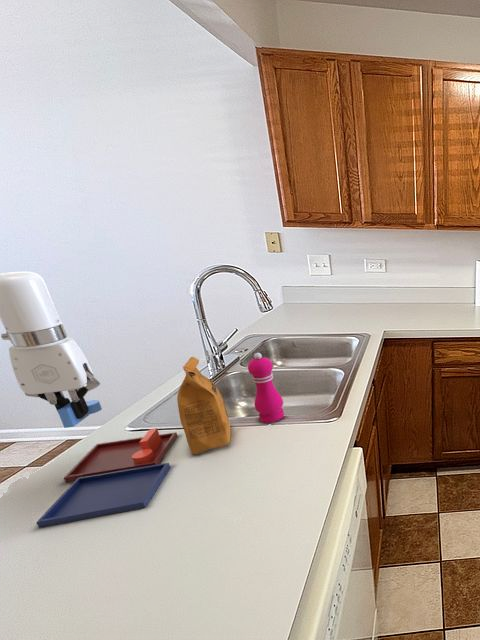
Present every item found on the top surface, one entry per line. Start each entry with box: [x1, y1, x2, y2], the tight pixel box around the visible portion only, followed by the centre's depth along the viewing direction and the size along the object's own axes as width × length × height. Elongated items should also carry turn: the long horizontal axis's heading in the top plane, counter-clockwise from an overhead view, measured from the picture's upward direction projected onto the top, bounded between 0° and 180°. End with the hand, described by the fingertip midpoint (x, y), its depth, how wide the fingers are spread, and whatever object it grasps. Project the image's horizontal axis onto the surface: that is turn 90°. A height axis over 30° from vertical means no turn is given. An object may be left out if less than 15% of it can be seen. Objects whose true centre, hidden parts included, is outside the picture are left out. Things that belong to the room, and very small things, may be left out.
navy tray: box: [36, 462, 171, 529], centre depth 84 cm, size 17×14×1 cm
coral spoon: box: [132, 427, 162, 465], centre depth 97 cm, size 10×4×4 cm, turn 18°
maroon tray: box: [63, 431, 179, 484], centre depth 96 cm, size 17×14×1 cm
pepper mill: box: [247, 352, 285, 424], centre depth 110 cm, size 7×7×20 cm
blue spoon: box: [57, 399, 103, 429], centre depth 87 cm, size 10×4×4 cm, turn 19°
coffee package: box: [176, 356, 231, 455], centre depth 99 cm, size 10×12×22 cm
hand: (76, 416), depth 85 cm, fingers closed on blue spoon, 1 cm apart
